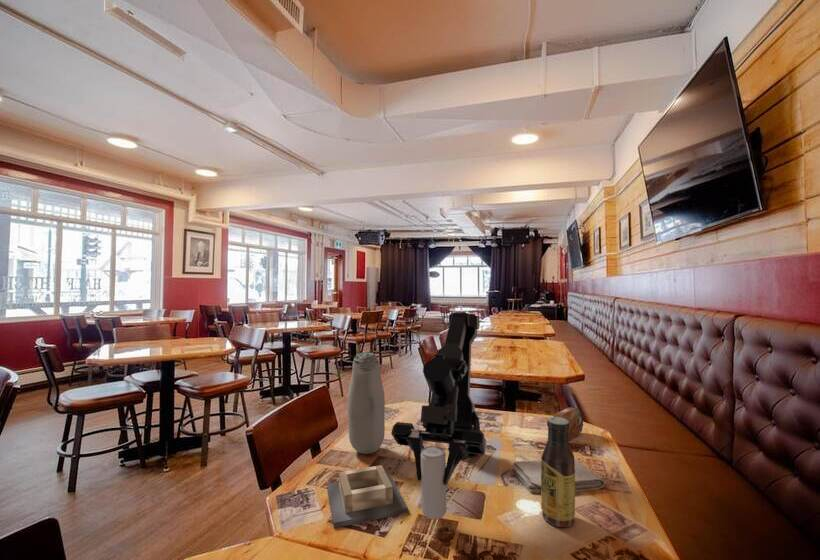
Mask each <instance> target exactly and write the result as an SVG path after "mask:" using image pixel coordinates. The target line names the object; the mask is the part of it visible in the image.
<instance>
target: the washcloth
mask: <svg viewBox="0 0 820 560" xmlns="http://www.w3.org/2000/svg"><path fill="white" fill-rule="evenodd" d="M574 459H575V458H574ZM574 463H575V464H574V465H575V466H574V469H575V492H580V491H590V490H591V491H592V490H600V489H601V488H604V487H605V484H606V482H605V481H604V480H603V478H601V477H600V476H598V475H597V474H596V473H594V472H593V471H591V470H589V469H588V468H587V467H586V466H585V465H584V464H582V463H581V462H580V461H578V460H577V459H575V462H574ZM512 471H514V474H515V477H517V478H518V480H519V482H521V483H522V484H523V486H524V487H525V489H527V490H528V492H529V493H530V494H540V495H541V459H538V460H526V461H515V462H513V465H512Z"/></svg>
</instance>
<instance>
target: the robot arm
mask: <svg viewBox="0 0 820 560" xmlns="http://www.w3.org/2000/svg"><path fill="white" fill-rule="evenodd" d="M447 325H448V326H447V327H448V330H447V333H446V337H445V340H444V341H445V342H444V345H443V346H442V347H441V348H439V349H437V351H436V353H435V354H434V357H433V358H432V359H429V360H428V361H427V362H426V363H425V364H424V366H423V368H422V374H423V376H424V380H425V381H426V385H427V386H428V389H429V392H431V395H430V396H431V397H430V402H428V405H421V412H420V423H422V427H423V429H425V430H419V429H415V427H414V424H413V423H412V422H411V423H409V422H402V421H401V422H399V421H396V422H395V424H394V425H392V429H391V432H390V435H391V436H392V437H393V439H394V441H395V442H396V444H397V445H400V446H406V447H409V448H410V449H411V451H413V456H414V463H415V471H416V472H415V473H416V478H417V481H418V482H421V450H422V449H423V448H425V446H424V445H423V444H424V442H429V443H431V442H432V443H441V444H447V445H448V447H447V451H448V456H447V459H446V460H447V462H446V469H445V474H444V485H446V486H447V485H448V484H449V481H450V479H451V477H452V476H453V473H454V471H455V469H457V467H458V465H459V464H460V462H461V461H462V460H463V459H467V458H473V457H478V456H479V455H486V439H485V436H484V435H485V434H484V432H483V431H482V430H481V425H480V417H479V416H478V412H477V411H476V406H475V403H474V402H473V400H472V398H471V396H470V395H471V391H470V390H471V366H472V365H471V363H472V362H471V361H472V344H473V343H474V341H475V340H476V338H477V336H478V330H480V317H479V316H478V315H476V313H469V312H466V311H463V312H459V311H458V312H457V311H456V312H455V311H454V312H450V314H449V315H448V324H447Z"/></svg>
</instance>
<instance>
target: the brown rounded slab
mask: <svg viewBox="0 0 820 560" xmlns="http://www.w3.org/2000/svg"><path fill="white" fill-rule="evenodd" d="M552 417H561V418H564V419H566V420H568V421H569V430H568V440H569V442H570V441H572V440H574V439H576V438H577V437H579V436H580V435H581V433H582V431H583V428H584V416H583V413H582V411H581V410H580V409H579V408H577V407H571V406H570V407H567V408H564V409H562V410H561V411H558V412H556V413H554V415H553V416H552Z"/></svg>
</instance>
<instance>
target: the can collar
mask: <svg viewBox="0 0 820 560" xmlns="http://www.w3.org/2000/svg"><path fill="white" fill-rule="evenodd" d="M326 489H327V495H328V496H327V498H328V502H329V508H330V513H331V518H332V519H331V520H332V526H333V529H337V528H342V527H346V526H351V525H352V526H353V525H356V524H360V523H365V522H371V521H375V520H380V519H385V518H389V517H393V516H394V517H395V516H398V515H405V514H408V513H409V510H408V506H407V504H406V502H405V500H404V498H403V497H402V494H401V492H400V490H399V488H398V487H397V485H396V483H395V481H394V479H393V477H392V475H391V473H387V472H386V471H385V469H384V467H383V465H376V466H375V465H374V466H368V467H362V468H357V469H350V470H344V471H339V472H338V482H333V483H332V482H331V483H327V484H326Z"/></svg>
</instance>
